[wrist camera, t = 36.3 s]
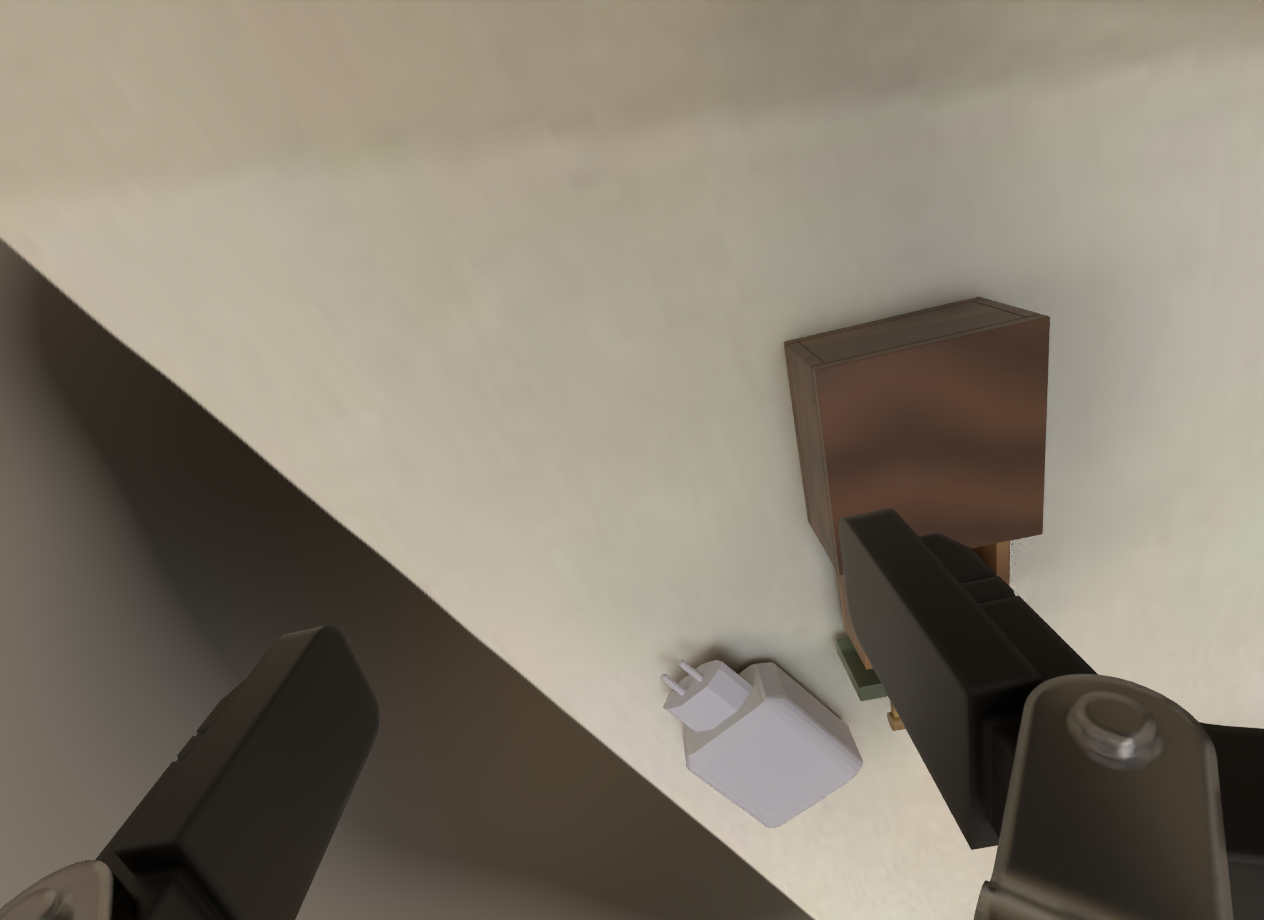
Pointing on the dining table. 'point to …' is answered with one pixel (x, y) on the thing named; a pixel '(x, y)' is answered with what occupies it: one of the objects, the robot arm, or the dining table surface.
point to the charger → (761, 738)
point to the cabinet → (925, 422)
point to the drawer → (856, 657)
